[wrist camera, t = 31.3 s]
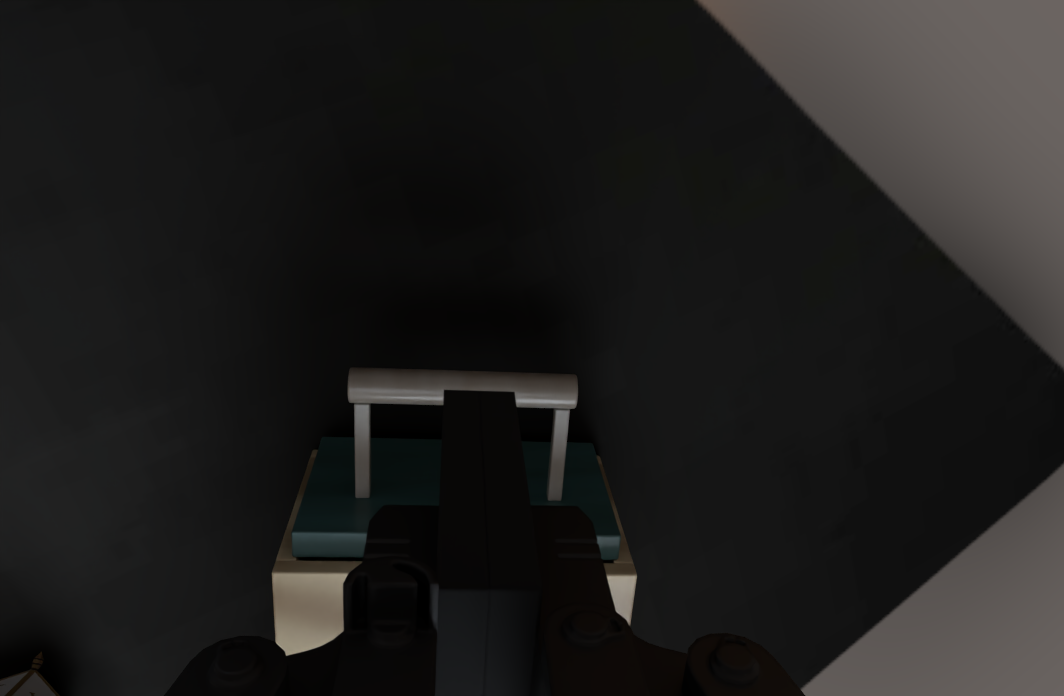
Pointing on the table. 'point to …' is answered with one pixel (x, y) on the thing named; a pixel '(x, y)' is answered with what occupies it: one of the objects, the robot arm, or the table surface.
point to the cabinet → (317, 586)
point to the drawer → (438, 460)
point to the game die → (27, 682)
